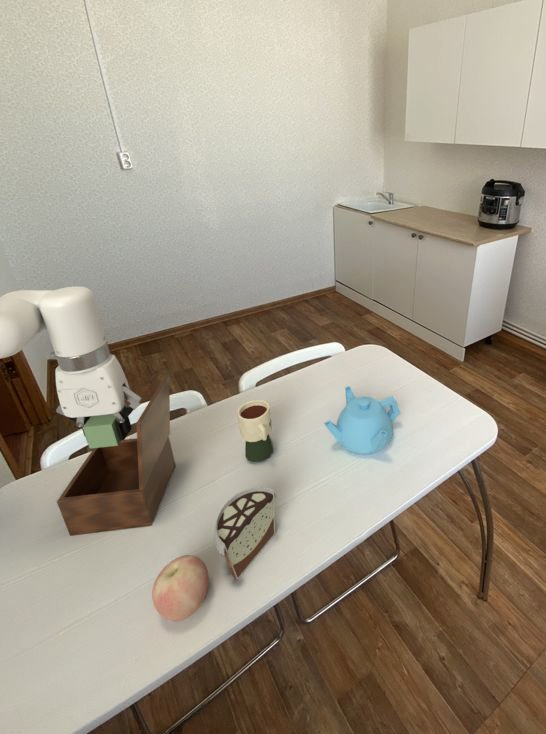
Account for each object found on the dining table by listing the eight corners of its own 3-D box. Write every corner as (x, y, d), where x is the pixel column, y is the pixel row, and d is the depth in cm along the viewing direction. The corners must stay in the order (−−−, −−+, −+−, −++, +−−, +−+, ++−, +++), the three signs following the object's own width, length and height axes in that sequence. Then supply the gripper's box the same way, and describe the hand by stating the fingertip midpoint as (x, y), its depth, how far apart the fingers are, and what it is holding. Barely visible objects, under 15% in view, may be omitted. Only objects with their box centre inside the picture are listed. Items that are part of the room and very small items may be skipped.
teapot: (385, 469, 85) (386, 430, 82) (324, 453, 90) (321, 415, 86) (401, 423, 99) (402, 388, 95) (347, 411, 104) (346, 378, 100)
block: (89, 448, 72) (82, 427, 70) (103, 429, 76) (96, 409, 75) (117, 445, 72) (111, 424, 70) (129, 427, 77) (123, 406, 75)
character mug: (283, 461, 88) (278, 415, 83) (254, 477, 84) (247, 430, 79) (264, 434, 96) (259, 391, 92) (236, 447, 92) (229, 403, 88)
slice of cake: (257, 512, 76) (251, 474, 72) (280, 527, 73) (276, 488, 70) (205, 569, 66) (196, 528, 63) (230, 589, 63) (221, 547, 60)
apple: (202, 567, 66) (195, 535, 64) (219, 605, 61) (212, 572, 58) (153, 602, 61) (142, 568, 59) (166, 646, 56) (155, 612, 53)
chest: (69, 536, 72) (56, 501, 69) (107, 473, 86) (97, 442, 83) (151, 526, 74) (141, 492, 71) (175, 465, 87) (168, 435, 84)
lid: (136, 422, 65) (140, 422, 66) (166, 373, 79) (169, 374, 79) (139, 490, 70) (143, 490, 71) (166, 433, 84) (169, 433, 84)
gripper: (17, 371, 63) (50, 456, 70) (125, 362, 65) (148, 446, 72) (46, 348, 70) (74, 427, 77) (143, 341, 72) (162, 418, 79)
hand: (109, 435), depth 74 cm, fingers closed on block, 5 cm apart
